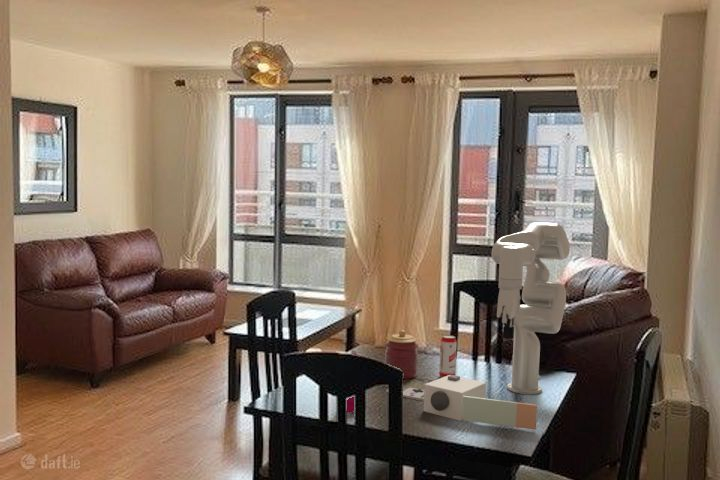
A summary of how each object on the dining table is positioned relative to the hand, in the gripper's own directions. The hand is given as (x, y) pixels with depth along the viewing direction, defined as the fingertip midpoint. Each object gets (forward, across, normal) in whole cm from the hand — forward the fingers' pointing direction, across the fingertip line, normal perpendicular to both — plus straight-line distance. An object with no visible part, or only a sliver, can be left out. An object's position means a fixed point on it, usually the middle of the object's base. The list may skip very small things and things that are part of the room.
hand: (508, 337), depth 232 cm
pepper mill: (+23, +31, -41) cm, 57 cm away
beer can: (+26, -25, -32) cm, 48 cm away
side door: (+23, +19, +4) cm, 30 cm away
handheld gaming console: (+25, +4, -29) cm, 38 cm away
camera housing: (+24, +12, -14) cm, 30 cm away
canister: (+25, -17, -48) cm, 57 cm away
